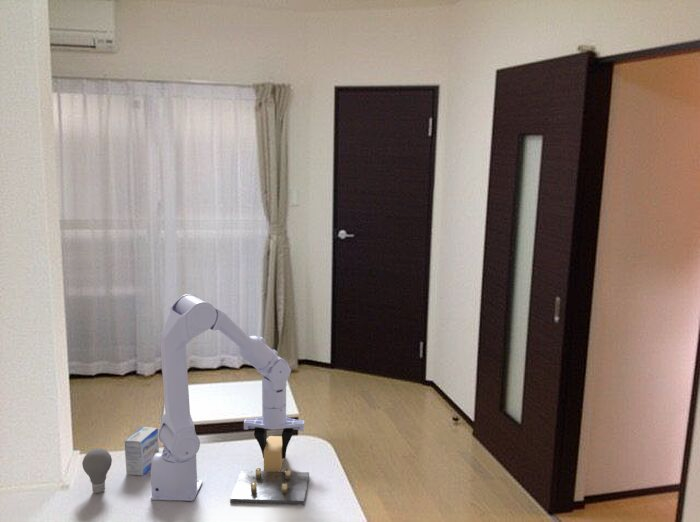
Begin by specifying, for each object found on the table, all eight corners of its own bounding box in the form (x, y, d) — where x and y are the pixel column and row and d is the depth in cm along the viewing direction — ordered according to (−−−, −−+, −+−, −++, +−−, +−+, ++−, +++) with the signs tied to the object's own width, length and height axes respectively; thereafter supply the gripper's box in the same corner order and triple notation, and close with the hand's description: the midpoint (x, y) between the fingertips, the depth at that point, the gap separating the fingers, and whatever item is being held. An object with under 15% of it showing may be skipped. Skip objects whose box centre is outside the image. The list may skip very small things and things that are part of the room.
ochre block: (263, 470, 148) (263, 451, 147) (268, 454, 156) (268, 436, 155) (280, 471, 148) (280, 451, 147) (284, 455, 156) (284, 436, 155)
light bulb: (106, 481, 142) (104, 440, 140) (117, 491, 138) (115, 450, 136) (79, 491, 138) (77, 449, 136) (90, 502, 134) (88, 459, 132)
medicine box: (143, 477, 145) (141, 442, 143) (125, 474, 145) (123, 440, 144) (159, 460, 152) (158, 427, 151) (143, 458, 153) (141, 425, 152)
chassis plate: (230, 502, 134) (230, 490, 134) (241, 474, 146) (241, 462, 146) (303, 505, 134) (304, 492, 134) (308, 476, 146) (309, 464, 145)
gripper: (305, 398, 153) (305, 449, 156) (247, 396, 153) (248, 447, 156) (303, 410, 146) (302, 463, 149) (241, 408, 147) (242, 461, 149)
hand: (274, 456), depth 152 cm, fingers closed on ochre block, 4 cm apart
